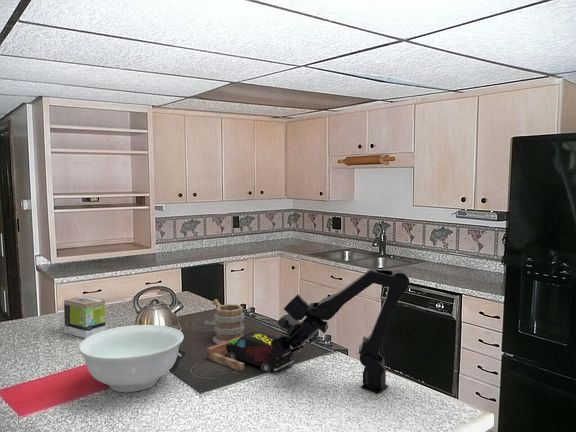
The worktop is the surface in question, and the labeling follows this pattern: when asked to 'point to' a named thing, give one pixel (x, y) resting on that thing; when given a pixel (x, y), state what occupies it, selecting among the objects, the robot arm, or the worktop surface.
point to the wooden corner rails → (217, 356)
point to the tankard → (228, 322)
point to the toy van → (258, 351)
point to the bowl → (131, 355)
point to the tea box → (84, 316)
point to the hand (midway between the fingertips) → (281, 353)
